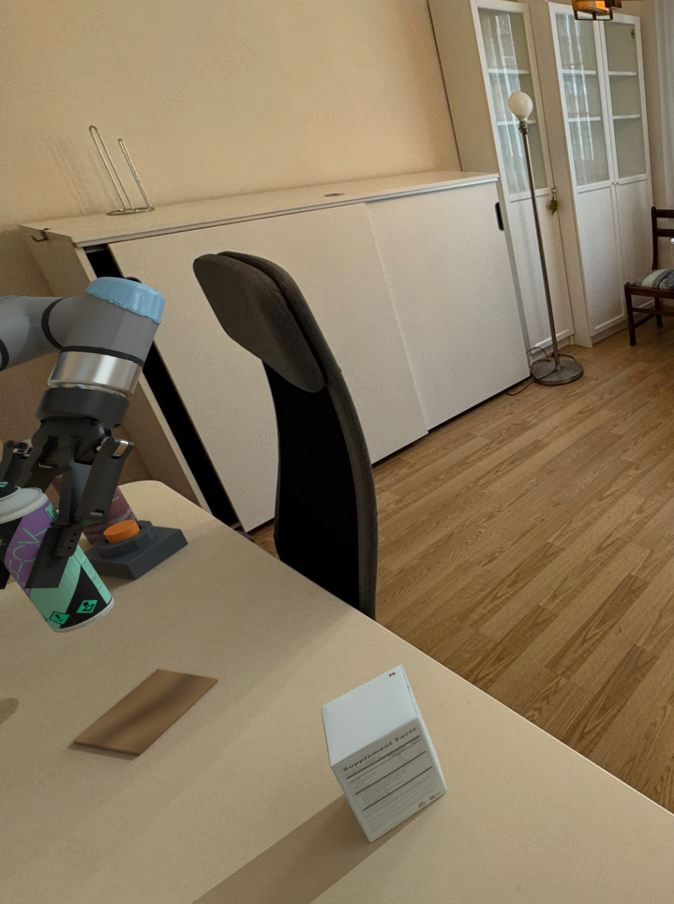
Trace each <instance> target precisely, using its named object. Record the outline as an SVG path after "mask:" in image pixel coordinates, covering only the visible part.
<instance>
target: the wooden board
mask: <svg viewBox="0 0 674 904" xmlns="http://www.w3.org/2000/svg"><path fill="white" fill-rule="evenodd" d="M218 682H219V680H218V678H215V677H210V676H204V675H197V674H191V673H190V674H189V673H185V672H178V671H172V670H166V669H160V668H157V669H156V670H155V671H154V672H152V673H151V674H150V675H148V677H146V678H145V679H144V680H143V681H142V682H140V683H139V684H138V685H136V687H134V688H133V689H132V690H131V691H130V692H129V693H127V694H126V695H125V696H124V697H122V698H121V699H120V700H119V701H118V702H117V703H115V704H114V705H113V706H112V707H110V709H108V710H107V711H106V712H105V713H103V714H102V715H101V716H100V717H99V718H97V719H96V720H95V721H94V722H93V723H92V724H90V725H89V726H88V727H87V728H86V729H84V731H82V732H81V733H80V734H79V735H78V736H76V737H75V738H74V739H73V740H72V742H73V743H74V744H78V745H83V746H88V747H94V748H98V749H103V750H108V751H114V752H119V753H124V754H130V755H135V756H141V755H142V754H143V753H144V752H145V751H146V750H147V749H149V747H150V746H151V745H152V744H154V743H155V742H156V741H157V740H158V739H159V738H160V737H161V736H163V734H164V733H165V732H166V731H167V730H168V729H169V728H171V727H172V725H174V723H175V722H177V720H179V719H180V718H181V717H182V716H183V715H184V714H185V713H186V712H187V711H188V710H190V709H191V708H192V707H193V705H195V704H196V703H197V702H198V701H199V700H200V699H201V698H202V697H203V696H204V695H205V694H206V693H207V692H209V690H210V689H212V688H213V687H214V686H215V685H216V684H217V683H218Z"/></svg>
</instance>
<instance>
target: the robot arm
mask: <svg viewBox="0 0 674 904" xmlns="http://www.w3.org/2000/svg"><path fill="white" fill-rule="evenodd" d="M165 304H166V299H165V297H164V296H163V294H162V293H161V292H159V291H158V290H157V289H154V288H153V287H150V286H149V285H146V284H144V283H141V282H138V281H134V280H130V279H126V278H122V277H115V276H114V277H113V276H102V277H101V276H100V277H98V278H96V279H93V280H92V281H90V282H89V284H88V285H87V287H86V289H84V290H83V295H77V296H76V295H75V296H27V295H21V296H20V295H5V296H3V297H2V296H0V373H1V372H4V371H7V370H10V369H12V368H15V367H18V366H21V365H23V364H25V363H27V362H30V361H34V360H35V359H39V358H42V357H44V356H47V355H54V354H58V357H57V358H56V361H55V363H54V365H53V368H52V369H51V372H50V374H49V376H48V378H47V381H46V383H47V385H48V386H49V387H50V388H47V389H45V390H44V391H43V392H42V394H41V398H40V400H39V402H38V404H37V406H36V409H35V412H34V417H35V418H36V419H37V420H38V421H39V422H40V426H39V427H38V429H37V430H36V431H35V432H33V433H32V435H31V438H26V439H24V440H21V441H18V440H14V439H13V440H12V439H10V440H7V441H5V443H4V444H3V446H2V453H1V454H2V455H1V461H0V481H1V480H5V481H7V482H8V483H9V484H10V485H13V486H18V487H20V488H39V489H41V490H42V492H43V493H44V494H46V492H47V490H48V489H49V487H50V486H51V485H52V484H51V482H52V481H53V479H54V478H55V477H56V476H58V475H61V474H62V480H61V490H60V496H59V500H58V509H57V513H58V519H57V521H54V522H50V525H51V526H53V527H60V528H47V530H46V533H45V535H44V538H43V541H42V543H41V546H40V549H39V551H38V554H37V556H36V559H35V562H34V564H33V567H32V569H31V572H30V575H29V577H28V580H27V582H26V585H25V588H24V589H32V588H58V587H59V584H60V581H61V579H62V576H63V573H64V570H65V568H66V565H67V562H68V559H69V557H72V556H73V554H74V553H75V551H76V548H77V545H79V542H80V540H81V537H82V535H83V532H82V531H83V529H84V528H86V527H88V526H89V525H90V524H93V523H96V522H103V521H105V520H106V518H107V516H108V513H109V510H110V506H111V503H112V500H113V497H114V494H115V490H116V487H117V485H118V483H119V481H120V478H121V474H122V471H123V468H124V465H125V463H126V460H127V458H128V457H129V455H130V454H131V452H132V451H133V449H134V448H135V442H133V441H130V440H125V439H122V438H117V437H115V434H114V430H115V429H118V428H121V427H122V426H123V425H124V423H125V419H126V417H127V415H128V411H129V408H130V406H131V402H130V401H129V399H128V398H131V397H132V396H134V393H135V390H136V388H137V384H138V382H139V379H140V377H141V374H142V371H143V369H144V366H145V362H146V360H147V357H148V354H149V352H150V349H151V347H152V344H153V341H154V339H155V336H156V334H157V332H158V328H159V326H161V324H162V321H161V320H162V317H163V313H164V308H165ZM93 509H95V511H92V510H93ZM73 514H75V515H73ZM10 577H11V573H10V572H9V571H8V569H7V568H6V567H5V565H4V564H3V563H2V561H1V560H0V590H5V589H6V586H7V585H8V582H9V579H10Z"/></svg>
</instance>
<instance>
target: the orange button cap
mask: <svg viewBox="0 0 674 904" xmlns="http://www.w3.org/2000/svg"><path fill="white" fill-rule="evenodd" d="M139 531H140V529H139V527H138V525H137V523H136V522H135V521H134V520H125V521H122V522H119V523H116V524H114V525H112V526H110V527H109V528H107V529H106V530H105V531H104V535H105V537H106V539H107V540H108V542H109V543H116V542H121V541H123V540H126V539H128V538H131V537H132V536H134V535H136V534H137V533H139Z"/></svg>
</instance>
